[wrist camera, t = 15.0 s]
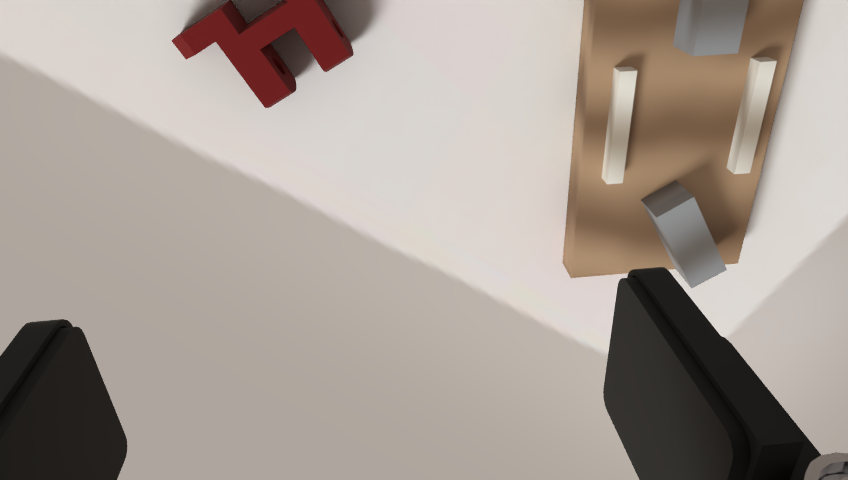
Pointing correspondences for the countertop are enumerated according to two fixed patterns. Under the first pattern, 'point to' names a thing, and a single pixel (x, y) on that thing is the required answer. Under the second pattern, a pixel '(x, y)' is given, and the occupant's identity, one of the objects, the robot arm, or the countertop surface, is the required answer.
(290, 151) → the countertop surface
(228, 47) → the bracket
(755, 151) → the jig
